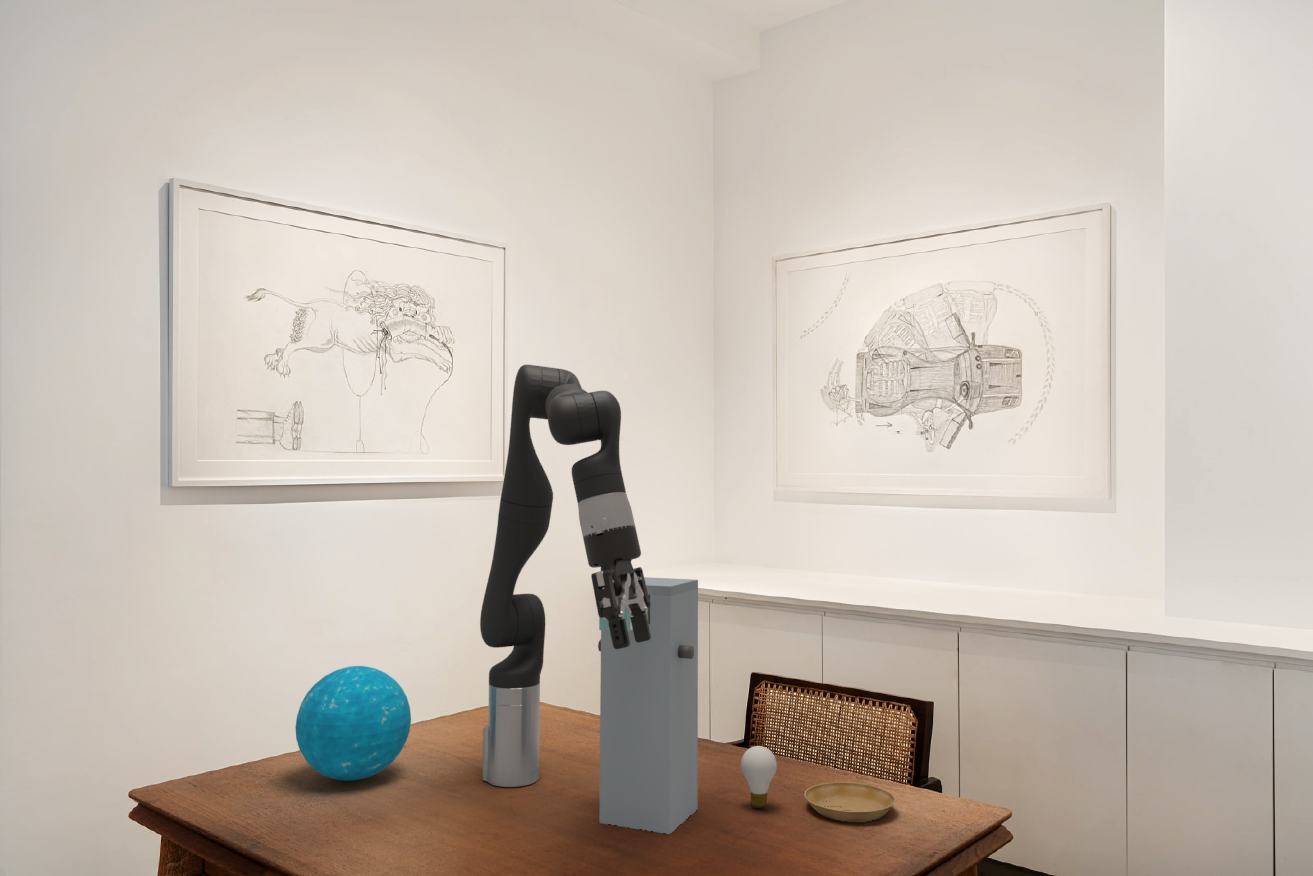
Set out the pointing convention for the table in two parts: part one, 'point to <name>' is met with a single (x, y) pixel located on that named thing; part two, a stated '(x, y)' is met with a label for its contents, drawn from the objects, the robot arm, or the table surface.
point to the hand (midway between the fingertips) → (633, 644)
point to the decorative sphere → (353, 723)
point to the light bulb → (758, 772)
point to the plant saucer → (850, 801)
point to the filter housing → (652, 715)
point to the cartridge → (605, 626)
